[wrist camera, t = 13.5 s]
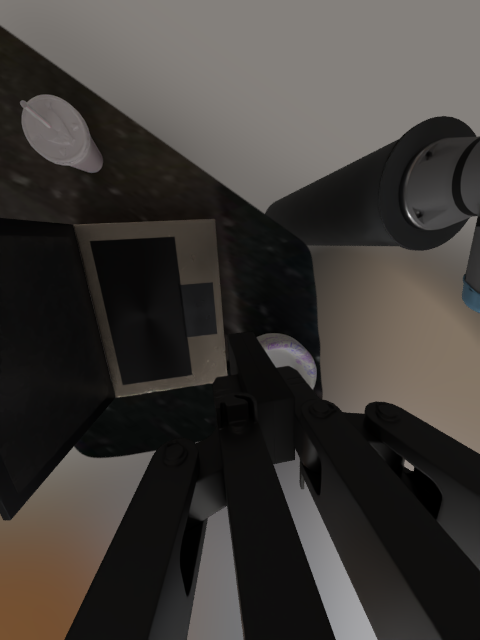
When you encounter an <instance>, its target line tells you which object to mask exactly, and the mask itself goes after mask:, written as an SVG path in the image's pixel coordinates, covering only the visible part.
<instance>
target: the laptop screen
mask: <svg viewBox="0 0 480 640" xmlns="http://www.w3.org/2000/svg"><path fill="white" fill-rule="evenodd" d="M114 398H115V395H114V391H113V387H112V383H111V379H110V374H109V370H108V366H107V362H106V358H105V354H104V350H103V346H102V342H101V338H100V334H99V330H98V325H97V321H96V317H95V313H94V309H93V305H92V301H91V297H90V293H89V289H88V285H87V281H86V276H85V272H84V268H83V264H82V260H81V256H80V252H79V248H78V244H77V240H76V236H75V232H74V227H73V225H71V224H60V223H49V222H38V221H28V220H17V219H6V218H0V514H1V516H2V518H3V520H11V519H12V518H13V517H14V516H15V515H16V513H17V512H18V511H19V510H20V509H21V507H22V506H23V505H24V504H25V503H26V501H27V500H28V499H29V498H30V497H31V496H32V495H33V493H34V492H35V491H36V490H37V489H38V488H39V486H40V485H41V484H42V483H43V482H44V481H45V479H46V478H47V477H48V476H49V475H50V473H51V472H52V471H53V470H54V469H55V467H56V466H57V465H58V464H59V463H60V462H61V461H62V459H63V458H64V457H65V456H66V455H67V454H68V452H69V451H70V450H71V449H72V448H73V447H74V445H75V444H76V443H77V442H78V441H79V439H80V438H81V437H82V436H83V435H84V434H85V432H86V431H87V430H88V429H89V428H90V427H91V425H92V424H93V423H94V422H95V421H96V420H97V418H98V417H99V416H100V415H101V414H102V412H103V411H104V410H105V409H106V408H107V407H108V405H109V404H110V403H111V402H112V401H113V400H114Z"/></svg>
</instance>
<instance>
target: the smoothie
mask: <svg viewBox="0 0 480 640" xmlns="http://www.w3.org/2000/svg"><path fill="white" fill-rule="evenodd" d="M20 104H21V106H22V107H23V108H24V109H23V112H22V127H23V131H24V134H25V136H26V138H27V140H28V142H29V143H30V144H31V146H32V147H33V148H34V149H35V150H36V151H37V152H38V153H39V154H41V155H42V156H43V157H45V158H46V159H47V160H49V161H51V162H53V163H56V164H60V165H69V166H72V167H75V168H78V169H80V170H83V171H86V172H89V173H95V172H98V171H99V170H100V169H101V167H102V165H103V158H102V155H101V153H100V151H99V150H98V148H97V146H96V144H95V143H94V141H93V139H92V138H91V136H90V133H89V129H88V127H87V124H86V122H85V120H84V119H83V117H82V116H81V115H80V113H79V112H78V111H77V110H76V109H75V108H74V107H73V106H72V105H70V104H69V103H68V102H66V101H65V100H63V99H61V98H59V97H57V96H53V95H38V96H36V97H33V98H32V99H30V100H29V101H28V102H27V103H26V102H25V101H23V100H22V101H21V102H20Z"/></svg>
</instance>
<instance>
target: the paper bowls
mask: <svg viewBox="0 0 480 640" xmlns="http://www.w3.org/2000/svg"><path fill="white" fill-rule="evenodd" d="M256 338H257V339H258V341H259V342H260V344H261V345H262V347H263V348H264V350H265V351H266V353H267V355H268V356H269V358H270V359H271V361H272V362H273V364H274V365H275V367H276V368H277V367H284V366H290V367H292V368H294V369H296V370H297V371H298V372H299V373H300V374H301V376H302V378H304V379H305V381H306V383H308V384H309V386H310V387H311V388H312V389H313V388H314V385H315V382H316V376H317V370H316V365H315V362H314V359H313V357H312V356H311V354H310V353H309V352H308V351H307V350H306V349H305V348H304V347H303V346H302V345H301V344H300V343H299V342H298V341H296V340H295V339H294V338H292V337H290V336H287V335H284V334H279V333H268V334H264V335H261V336H258V337H256Z"/></svg>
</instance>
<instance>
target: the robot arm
mask: <svg viewBox="0 0 480 640" xmlns="http://www.w3.org/2000/svg"><path fill="white" fill-rule="evenodd" d="M398 199H399V207H400V210H401V213H402V215H403V217H404V219H405V220H406V222H407V223H408V224H409V225H410V226H412V227H413V228H415V229H418V230H438V229H442V228H445V227H447V226H450V225H452V224H455V223H457V222H460V221H462V220H465V219H467V218H470V217H472V216H478V218H477V223H476V227H475V232H474V237H473V242H472V246H471V251H470V256H469V260H468V265H467V270H466V274H465V275H464V277H463V282H464V285H463V293H462V299H463V301H464V302H465V304H466V305H467V306H468V307H469V308H471V309H472V310H474V311H476V312H478V313H480V137H458V138H444V139H441V140H438V141H436V142H433V143H431V144H429V145H427V146H425V147H423V148H422V149H420V150H419V151H418V152H417V153H416V154H415V155H414V156H413V157H412V159H411V160H410V161H409V163H408V164H407V166H406V168H405V170H404V172H403V175H402V178H401V181H400V185H399V193H398ZM227 339H228V350H229V362H230V373H231V375H228V376H222V377H216V379H215V381H214V382H213V392H214V401H215V409H216V418H217V426H216V429H215V430H214V432H213V433H212V434H211V435H210V436H209V437H208V438H206V439H204V440H202V441H200V442H198V443H196V444H195V443H194V442H193V441H191V440H190V439H185V438H178V439H173V440H171V441H168V442H166V443H164V444H163V445H162V446H160V447H159V448H158V449H157V451H156V452H155V453H154V455H153V456H152V459H151V461H150V463H149V465H148V467H147V469H146V471H145V474H144V475H143V477H142V480H141V481H140V483H139V486H138V488H137V490H136V492H135V494H134V496H133V498H132V500H131V503H130V504H129V506H128V508H127V511H126V513H125V515H124V517H123V519H122V521H121V523H120V525H119V527H118V529H117V531H116V534H115V536H114V538H113V540H112V542H111V544H110V546H109V548H108V550H107V552H106V555H105V556H104V559H103V561H102V563H101V565H100V567H99V569H98V571H97V573H96V575H95V577H94V579H93V581H92V583H91V585H90V588H89V590H88V592H87V594H86V596H85V598H84V600H83V602H82V604H81V606H80V608H79V611H78V613H77V615H76V617H75V619H74V621H73V623H72V625H71V627H70V629H69V631H68V633H67V635H66V637H65V640H187V635H188V629H189V624H190V617H191V612H192V606H193V600H194V595H195V589H196V583H197V577H198V572H199V566H200V561H201V555H202V549H203V543H204V538H205V532H206V525H207V519H208V517H209V516H211V515H213V514H214V513H216V512H218V511H219V510H221V509H222V508H224V507H226V506H227V509H228V517H229V524H230V532H231V540H232V549H233V556H234V565H235V572H236V581H237V589H238V597H239V604H240V613H241V621H242V629H243V637H244V640H336V639H335V636H334V634H333V631H332V628H331V625H330V622H329V619H328V617H327V614H326V611H325V608H324V606H323V603H322V600H321V597H320V594H319V591H318V589H317V586H316V583H315V580H314V577H313V575H312V572H311V569H310V567H309V563H308V561H307V558H306V555H305V552H304V549H303V547H302V544H301V541H300V538H299V536H298V533H297V530H296V527H295V524H294V521H293V518H292V516H291V513H290V510H289V507H288V504H287V502H286V499H285V496H284V493H283V490H282V488H281V485H280V482H279V479H278V477H277V474H276V471H275V468H274V465H273V464H277V463H282V462H287V461H292V460H295V449H296V451H297V453H298V455H299V457H300V487H301V489H304V480H305V482H306V484H307V487H308V489H309V491H310V493H311V495H312V497H313V500H314V502H315V504H316V506H317V508H318V511H319V513H320V515H321V517H322V519H323V521H324V524H325V526H326V528H327V530H328V532H329V534H330V537H331V539H332V541H333V543H334V545H335V547H336V550H337V552H338V554H339V556H340V558H341V561H342V563H343V565H344V567H345V569H346V571H347V574H348V576H349V578H350V580H351V582H352V584H353V587H354V589H355V591H356V593H357V595H358V597H359V600H360V602H361V604H362V606H363V608H364V611H365V613H366V615H367V617H368V619H369V621H370V624H371V626H372V628H373V630H374V632H375V635H376V637H377V639H378V640H480V454H479V453H477V452H475V451H473V450H472V449H470V448H468V447H467V446H465V445H463V444H462V443H460V442H458V441H456V440H455V439H453V438H451V437H450V436H448V435H446V434H445V433H443V432H441V431H439V430H438V429H436V428H434V427H433V426H431V425H429V424H427V423H426V422H424V421H422V420H421V419H419V418H417V417H415V416H414V415H412V414H410V413H409V412H407V411H405V410H404V409H402V408H400V407H398V406H396V405H393V404H389V403H386V402H373V403H369V404H368V405H367V406H366V408H365V414H359V413H346V412H342V411H341V410H340V409H339V408H338V407H337V406H336V405H335V404H333V403H331V402H329V401H326V400H322V399H320V398H319V397H318V396H317V394H316V393H315V392H314V391H313V389H312V388H311V387H310V386H309V384H308V383H306V381H305V379H304V378H302V376H301V374H300V373H299V372H298V371H297V370H296V369H294V368H292V367H290V366H284V367H277V368H276V367H275V365H274V364H273V362H272V361H271V359H270V358H269V356H268V355H267V353H266V351H265V350H264V348H263V347H262V345H261V344H260V342H259V341H258V339H257V338H256V336H255V335H254V333H253V332H252V331H251V332H243V333H235V334H227ZM405 460H407V461H408V462H409V463H411V464H412V465H413V466H414V471H410V470H409V469H407V468H406V467H404V462H405Z"/></svg>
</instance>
